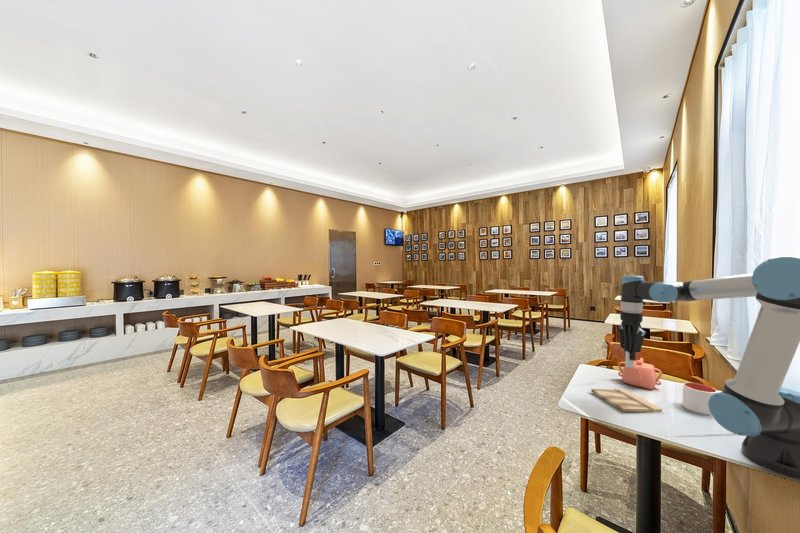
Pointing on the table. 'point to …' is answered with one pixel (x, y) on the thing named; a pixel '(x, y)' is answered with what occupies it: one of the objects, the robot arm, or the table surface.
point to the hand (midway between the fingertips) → (629, 366)
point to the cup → (697, 397)
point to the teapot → (640, 374)
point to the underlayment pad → (654, 408)
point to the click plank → (621, 400)
